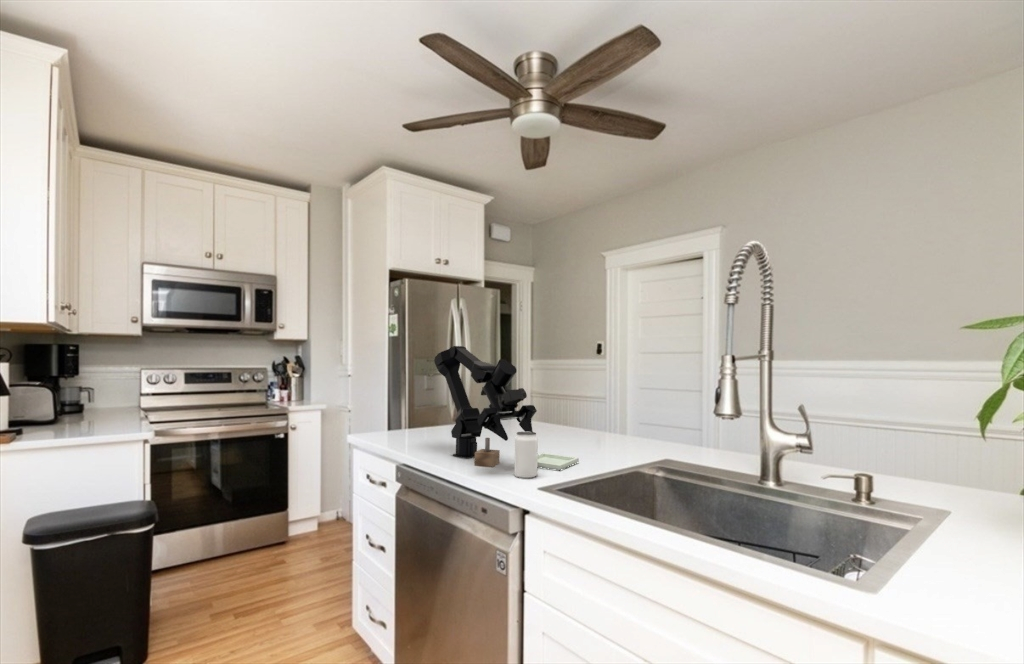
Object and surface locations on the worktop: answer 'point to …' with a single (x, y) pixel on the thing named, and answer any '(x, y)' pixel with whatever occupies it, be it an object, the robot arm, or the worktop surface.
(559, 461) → the tray
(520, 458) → the can
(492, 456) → the wooden peg block
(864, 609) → the worktop surface
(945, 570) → the worktop surface
